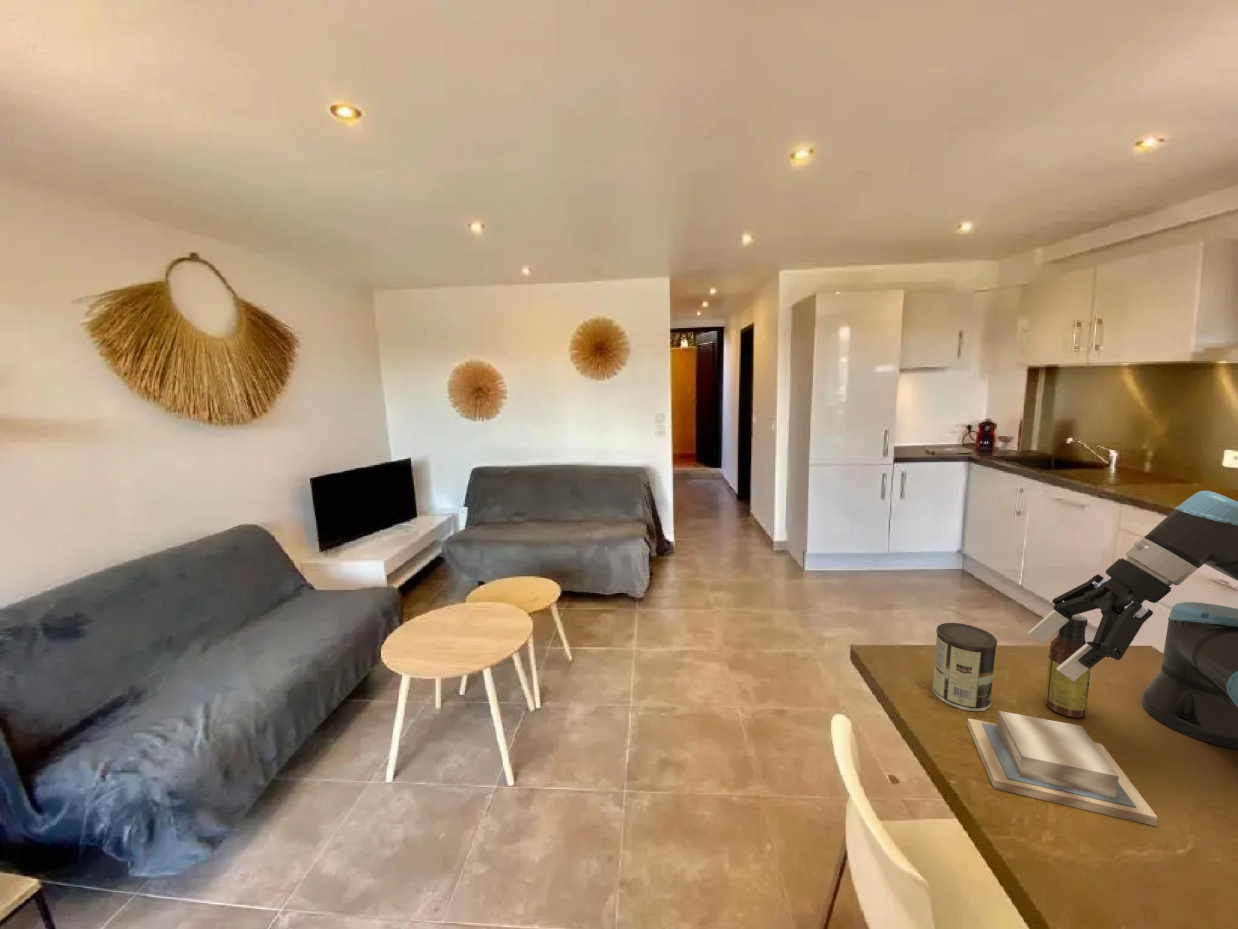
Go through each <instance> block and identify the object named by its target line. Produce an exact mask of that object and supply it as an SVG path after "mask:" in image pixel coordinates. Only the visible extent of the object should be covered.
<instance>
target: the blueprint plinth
mask: <svg viewBox="0 0 1238 929" xmlns="http://www.w3.org/2000/svg"><path fill="white" fill-rule="evenodd" d="M967 728H968V730H969V733H970V735H971V737H972V740H973V742H974V745H975V746H976V749H977V752H978V754H979V756H980V760H981V762H982V763H983V766H984V768H985V771H986V774H987V776H988V779H989V781H990V783H991V785H992V786H991V787H992V788H993V789H995V790H997V791H1004V792H1008V793H1012V794H1015V795H1016V794H1017V795H1019V796H1025V797H1027V798H1028V797H1029V798H1033V799H1038V800H1042V801H1047V802H1051V803H1055V804H1060V805H1063V806H1068V807H1072V808H1077V809H1081V810H1084V811H1085V810H1086V811H1090V812H1092V813H1093V812H1094V813H1098V814H1102V815H1107V816H1110V817H1115V818H1119V819H1123V820H1128V821H1131V822H1137V823H1141V824H1146V825H1149V826H1153V827H1157V825H1158V824H1157V823H1158V818H1159V817H1158V816H1157V815H1156V813H1155V812H1154V811H1153V809H1152V808H1151V807H1150V805H1149V804H1148V802H1147V801H1146V800H1145V799H1144V797H1142V795H1141V794H1140V792H1139V791H1138V789H1137V788H1136V787H1135V786H1134V784H1133V783H1132V782H1131V781H1130V779H1129V777H1128V776H1127V774H1126V773H1125V772H1124V771H1123V770H1122V769H1121V767H1120V765H1119V764H1118V763H1117V762H1116V761H1115V759H1114V758H1113V757H1112V756H1111V754H1110V753H1109V752H1108V750H1107V749H1106V747H1105V746H1104V745H1103V744H1102V743H1098V742H1094V741H1093V740H1092V738H1091V737H1090V735H1089V733H1088V732H1086V730H1085V729H1084V727H1083V726H1082V725H1078V724H1074V723H1069V722H1062V721H1057V720H1051V719H1046V718H1039V717H1036V716H1035V717H1034V716H1030V715H1024V714H1018V713H1012V712H1008V711H1003V710H998V713H997V723H994V722H988V721H985V720H979V719H973V718H967Z"/></svg>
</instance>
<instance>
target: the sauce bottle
mask: <svg viewBox="0 0 1238 929" xmlns="http://www.w3.org/2000/svg"><path fill="white" fill-rule="evenodd" d="M1064 617H1066V616H1064ZM1066 618H1067V617H1066ZM1067 619H1068V620H1069V621H1068V622H1067V623H1066V624H1065V625H1063V626H1062V627H1061V628H1060V629H1059V630H1058V634H1057V636H1056V637H1055V638H1054V639H1053V640H1051V642H1050V646H1049V655H1048V657H1047V658H1048V659H1047V669H1046V680H1045V681H1046V682H1045V691H1044V698H1045V699H1044V700H1045V704H1046V706H1047V707H1048V708H1049V709H1050V710H1051V711H1053V712H1054V713H1057V714H1058V715H1060V716H1061V715H1062V716H1065V717H1068V718H1075V719H1077V718H1078V719H1080V718H1083V717H1084V716H1085V714H1086V710H1087V708H1088V707H1087V706H1088V698H1089V696H1088V695H1089V690H1090V680H1091V668H1090V669H1088V670H1087V671H1086V672H1085V673H1083V674H1082V675H1081V676H1080V677H1079V678H1077V679H1076V680H1075V681H1072V680H1071V679H1069V678H1068V677H1067V676H1065V675H1064V674H1062V673H1061V672H1059V671H1058V670H1057V669H1056V668H1057V667H1058V666H1060V665H1061V664H1062V663H1063V662H1064V661H1066V660H1067V659H1068V658H1069V657H1070V656H1072V655H1073V654H1074V653H1075V652H1076V651H1078V650H1079V649H1080V648H1081V647H1082V646H1084V645H1085V644H1086V643H1087V641H1086V629H1087V627H1088V618H1087V617H1086V616H1084V615H1082V614H1081V613H1080V614H1076V615H1073V616H1072V618H1071V619H1072V620H1070V619H1069V618H1067Z"/></svg>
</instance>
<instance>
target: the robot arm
mask: <svg viewBox="0 0 1238 929" xmlns="http://www.w3.org/2000/svg"><path fill="white" fill-rule="evenodd" d="M1125 556H1126V559H1124V558H1123V557H1121V558H1118V559H1117V560H1116V561H1115V562H1113V563H1112V565H1110V566H1109V567H1108V568H1107V569H1106V570H1105V574H1106V575H1107V576H1108V577H1110V579H1107V578H1105V577H1103V576H1102V575H1100V574H1095V575H1094V576H1093V577H1091V578H1090V579H1089V580H1088V581H1086V582H1084V583H1082V584H1080V585H1078V586H1076V587H1074V588H1073V589H1069V590H1068V591H1066V592H1065V593H1062V594H1061V595H1058V596H1056V597H1054V598H1053V599H1052V603H1053V604H1054V605H1053V610H1051V612H1049V613H1048V614H1047V615H1046V616H1045V617H1044V618H1042V620H1040V621H1039V622H1038V623H1037V624H1036V625H1035V626H1034V627H1032V628H1031V629H1030V630H1029V631H1028V632H1027V634H1028V635H1029V636H1031V637H1033V638H1034V639H1035V640H1037V641H1038V642H1040V643H1042V644H1044V643H1045V642H1046V641H1047V640H1048V639H1050V638H1051V637H1052V636H1053V635H1055V633H1057V632H1059V630H1060V628H1061V627H1062V626H1063V625H1065V624H1066V623H1067V622H1068V621H1069V620H1068V619H1067V618H1069V619H1070V620H1072V619H1071V618H1072V616H1073V615H1076V614H1080V615H1081V614H1083V613H1087V612H1090V611H1094V610H1100V612H1101V615H1102V616H1101V619H1100V621H1099V625H1098V627H1097V630H1096V632H1095V635H1094V637H1093V640H1092V641H1086V644H1085V645H1084V646H1082V647H1081V648H1080V649H1079V650H1078V651H1076V652H1075V653H1074V654H1073V655H1072V656H1070V657H1069V658H1068V659H1067V660H1066V661H1064V662H1063V663H1062V664H1061V665H1060V666H1058V667H1057V668H1056V669H1057V670H1058V671H1059V672H1061V673H1062V674H1064V675H1065V676H1067V677H1068V678H1069V679H1071V680H1072V681H1075V680H1076V679H1077V678H1079V677H1080V676H1081V675H1082V674H1083V673H1085V672H1086V671H1087V670H1088V669H1090V668H1093V667H1094V666H1095V665H1096V664H1098V663H1099V662H1100V661H1102V660H1103V659H1104V658H1112V659H1114V660H1116V661H1120V660H1121V659H1122V658H1123V657H1124V655H1125V654H1126V652H1127V650H1128V649H1129V647H1130V646H1131V644H1132V642H1133V641H1134V639H1135V637H1136V636H1137V634H1138V632H1139V631H1140V630H1141V628H1142V627H1143V625H1144V623H1145V622H1147V620H1148V619H1150V617H1152V616H1153V615H1154V611H1153V610H1151V609H1150V608H1148V607H1147V606H1145V605H1143V602H1145V601H1148V602H1150V603H1153V604H1156V603H1158V602H1160V601H1161V600H1162V599H1164V598H1165V597H1166V596H1167V595H1168V594H1169V593H1170V592H1172V587H1171V586H1173V585H1174V586H1180V585H1181V584H1182V583H1184V581H1186V580H1187V579H1188V578H1189V577H1190V576H1192V575H1193V574H1194V573H1195V572H1197V570H1199V569H1200V568H1201V567H1202V566H1204V565H1206V566H1208V567H1210V568H1212V569H1214V570H1216V571H1217V572H1219V573H1221V574H1223V575H1225V576H1227V577H1229V578H1231V579H1233V580H1235V581H1237V582H1238V501H1237V500H1234V499H1232V498H1229V497H1227V496H1225V495H1222V494H1221V493H1220V494H1219V492H1213V491H1209V490H1200V491H1198V492H1197V491H1196V493H1194V494H1193V495H1191V496H1189V497H1188V498H1187V499H1186V500H1184V501H1183V502H1182V503H1180V504H1179V505H1177V506H1175V508H1174V510H1172V512H1171V513H1169V514H1168V515H1167V516H1166V517H1165V518H1164V519H1163V520H1161V522H1159V523H1158V524H1157V525H1156V526H1155V527H1154V528H1152V530H1151V531H1149V533H1147V534H1146V535H1145V536H1144V537H1143V538H1142V539H1141V540H1139V541H1136V542H1134V544H1133V547H1131V548H1130V549H1129V550H1128V551H1127V552H1126V553H1125ZM1170 610H1171V611H1170V613H1169V616H1168V617H1167V621H1168V624H1167V629H1166V636H1165V640H1164V641H1165V642H1164V648H1163V654H1162V655H1163V656H1162V661H1161V667H1160V671H1159V673H1157V675H1156V676H1155V677H1154V678H1153V680H1152V681H1151V683H1150V684H1149V685H1148V686H1147V688H1145V690H1144V692H1143V695H1142V702H1141V705H1142V707H1143V709H1144V710H1145V711H1146V712H1147V713H1148V714H1149V715H1150V716H1152V717H1153V718H1154V719H1155V720H1157V721H1158V722H1160V723H1161V724H1163V725H1165V726H1166V727H1169V728H1170V729H1173V730H1175V731H1177V732H1179V733H1181V734H1184V735H1186V736H1188V737H1191V738H1194V739H1197V740H1199V741H1203V742H1206V743H1209V744H1212V745H1217V746H1220V747H1225V748H1229V749H1238V608H1235V607H1230V606H1226V605H1225V606H1224V605H1219V604H1213V603H1207V602H1197V601H1196V602H1194V601H1191V602H1190V601H1184V602H1178V603H1176V604H1174V605H1173V606H1172V607H1171V609H1170ZM1064 616H1066V617H1067V618H1066V617H1064ZM1090 670H1091V669H1090Z"/></svg>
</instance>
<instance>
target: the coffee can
mask: <svg viewBox="0 0 1238 929" xmlns="http://www.w3.org/2000/svg"><path fill="white" fill-rule="evenodd" d="M935 633H936V641H935V655H934V667H933V680H932V682H933V684H932V687H931V688H932V689H931V690H932V692H933V693H934V695H935V696H936V697H937V698H938V699H939V700H941V701H942V702H943V703H945V704H947V705H948V706H951V707H953V708H956V709H960V710H962V711H963V710H964V711H969V712H983V711H986V710H988V709H989V708H990V707H991V706H992V705H991V704H992V703H991V702H992V701H991V699H992V690H993V689H992V688H993V679H994V668H995V667H994V666H995V662H996V661H995V658H996V652H997V651H996V649H997V646H998V640H997V638H996V637H995V636H994V635H993V634H991V633H990V632H988V631H986V630H985V629H982V628H980V627H977V626H974V625H971V624H970V625H969V624H967V623H959V622H944V623H940V624H939V625H937V627H936V632H935Z"/></svg>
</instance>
